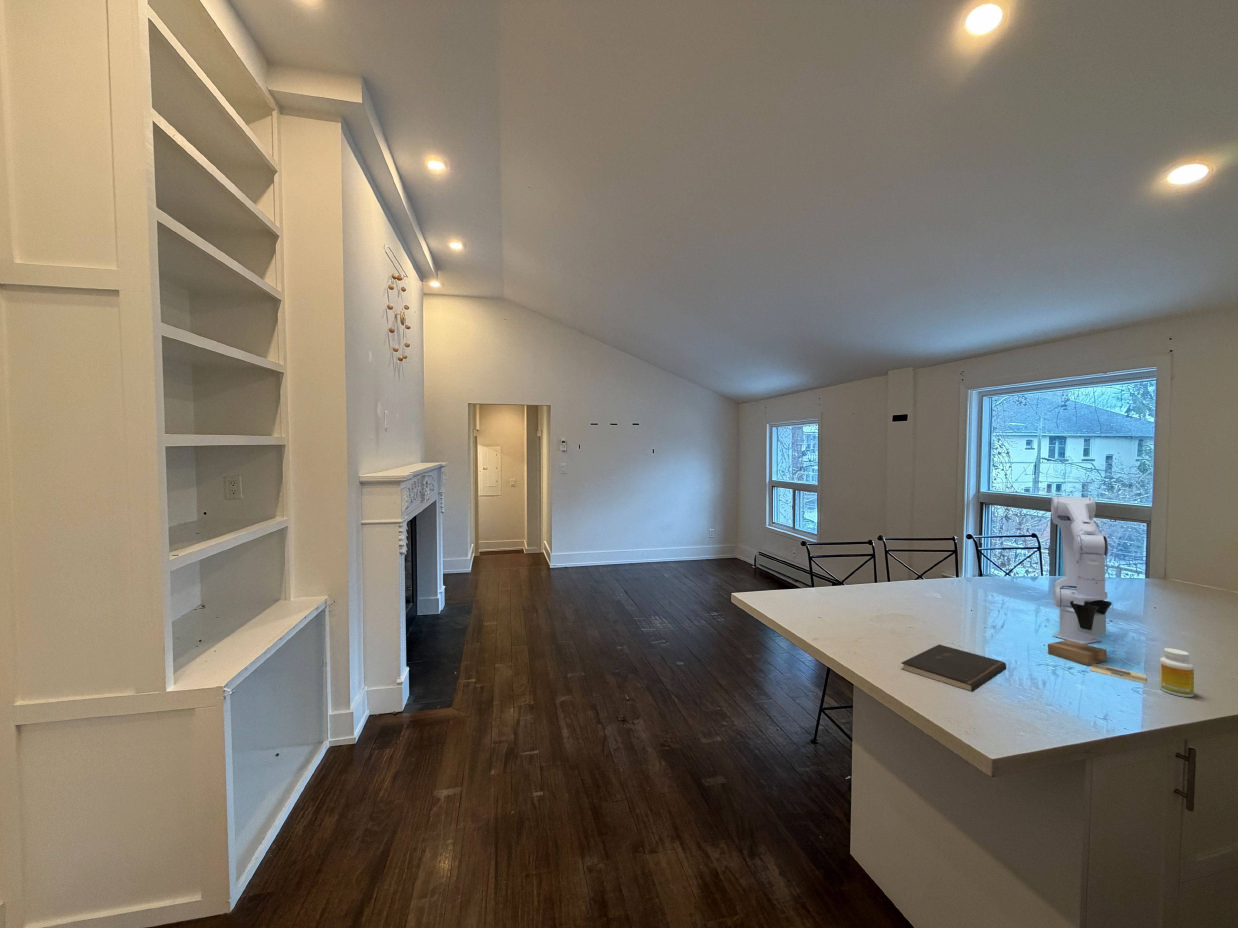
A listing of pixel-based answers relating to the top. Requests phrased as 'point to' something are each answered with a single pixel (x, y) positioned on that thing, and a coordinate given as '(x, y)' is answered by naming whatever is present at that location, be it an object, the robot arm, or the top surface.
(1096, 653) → the walnut slab
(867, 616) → the top surface
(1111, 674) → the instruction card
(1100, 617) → the gray brick
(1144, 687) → the top surface
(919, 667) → the hardcover book
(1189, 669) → the supplement bottle
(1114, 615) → the top surface
